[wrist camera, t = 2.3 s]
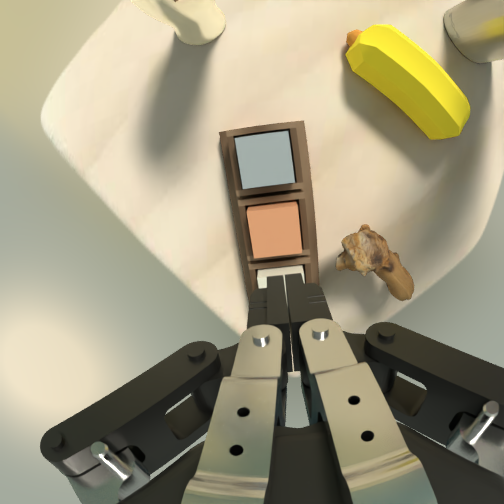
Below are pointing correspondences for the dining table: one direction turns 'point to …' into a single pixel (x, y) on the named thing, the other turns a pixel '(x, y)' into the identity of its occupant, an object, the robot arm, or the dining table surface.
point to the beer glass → (187, 18)
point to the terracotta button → (274, 228)
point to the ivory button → (277, 273)
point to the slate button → (265, 159)
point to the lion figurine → (375, 261)
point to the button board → (273, 193)
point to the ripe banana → (409, 79)
